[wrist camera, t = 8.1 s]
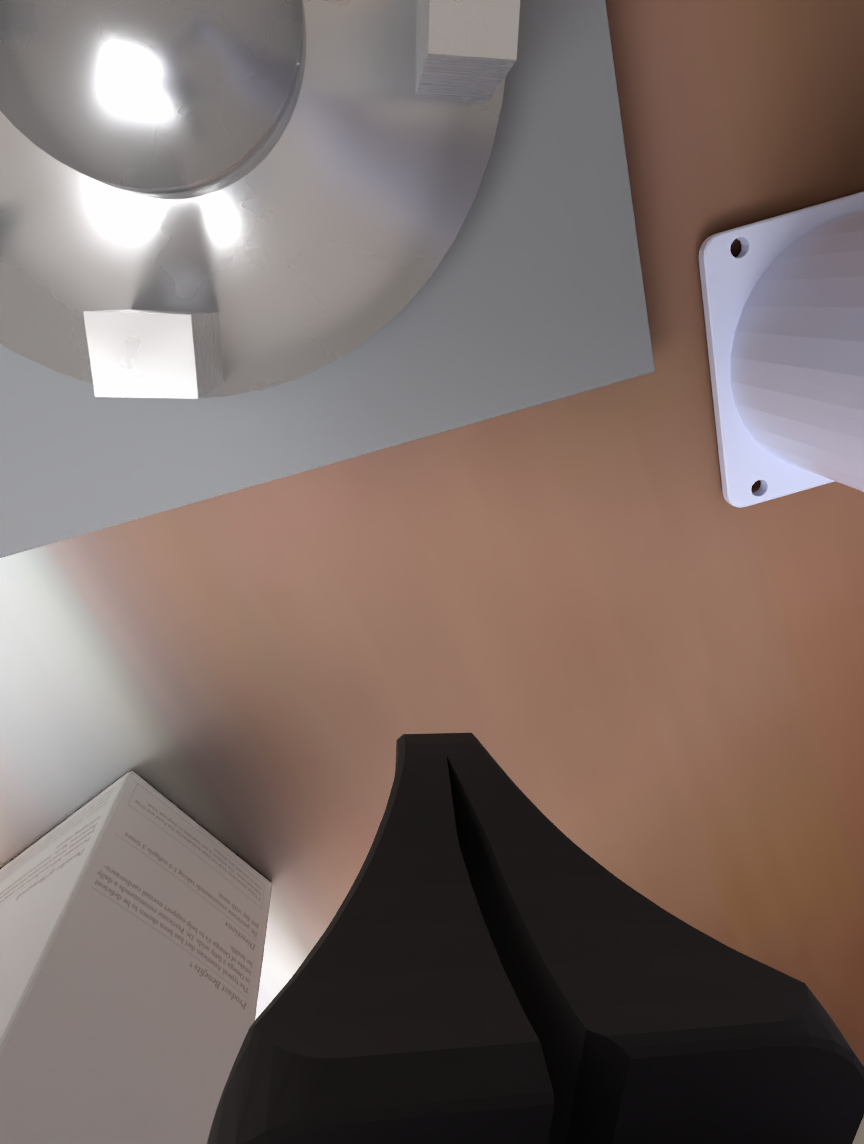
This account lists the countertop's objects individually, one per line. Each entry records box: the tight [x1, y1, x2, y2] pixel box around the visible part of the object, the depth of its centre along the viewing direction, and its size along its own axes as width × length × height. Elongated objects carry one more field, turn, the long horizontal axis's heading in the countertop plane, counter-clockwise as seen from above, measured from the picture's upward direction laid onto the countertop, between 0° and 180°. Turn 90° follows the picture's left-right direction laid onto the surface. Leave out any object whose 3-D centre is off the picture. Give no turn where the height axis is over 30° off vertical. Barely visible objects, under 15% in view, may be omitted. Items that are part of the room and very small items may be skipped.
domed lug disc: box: [0, 0, 520, 399], centre depth 13 cm, size 15×15×4 cm
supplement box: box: [0, 771, 272, 1144], centre depth 20 cm, size 7×7×13 cm
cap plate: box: [0, 0, 655, 558], centre depth 16 cm, size 20×20×1 cm
